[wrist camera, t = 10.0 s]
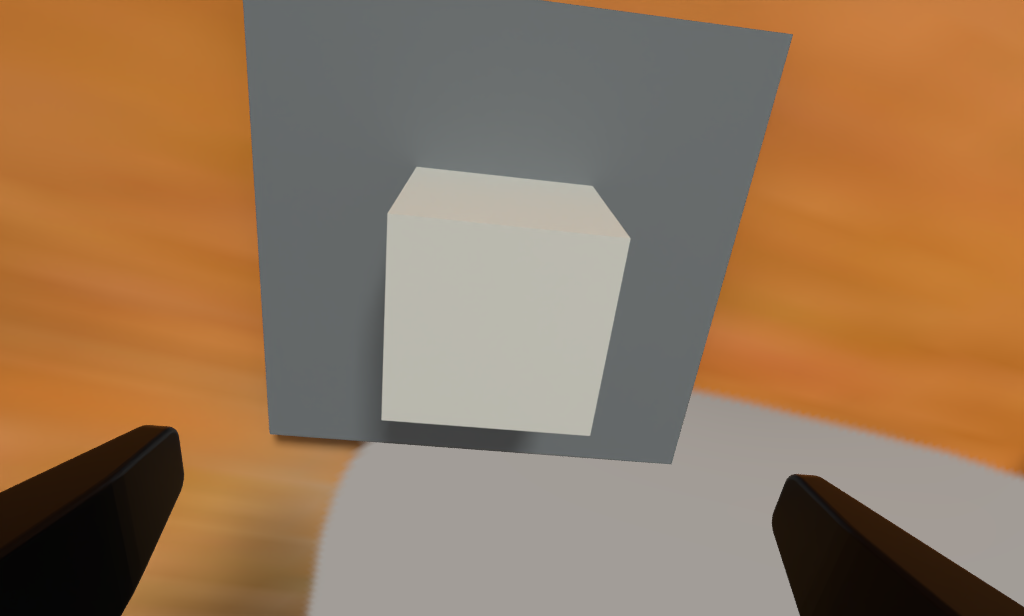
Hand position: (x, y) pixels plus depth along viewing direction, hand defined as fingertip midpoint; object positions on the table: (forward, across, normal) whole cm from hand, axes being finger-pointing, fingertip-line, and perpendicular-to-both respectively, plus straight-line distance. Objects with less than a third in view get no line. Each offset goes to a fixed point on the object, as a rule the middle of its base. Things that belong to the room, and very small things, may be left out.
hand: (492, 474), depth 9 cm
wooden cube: (+10, 0, 0) cm, 10 cm away
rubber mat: (+11, 0, 0) cm, 11 cm away
